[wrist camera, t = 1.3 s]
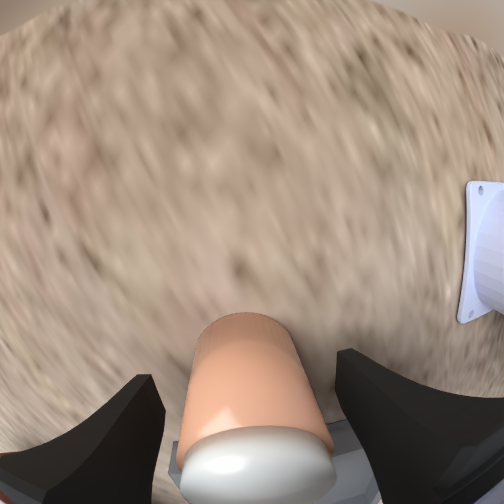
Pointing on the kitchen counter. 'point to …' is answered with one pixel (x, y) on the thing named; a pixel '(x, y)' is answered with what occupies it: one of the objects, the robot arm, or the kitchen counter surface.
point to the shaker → (252, 420)
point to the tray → (346, 466)
